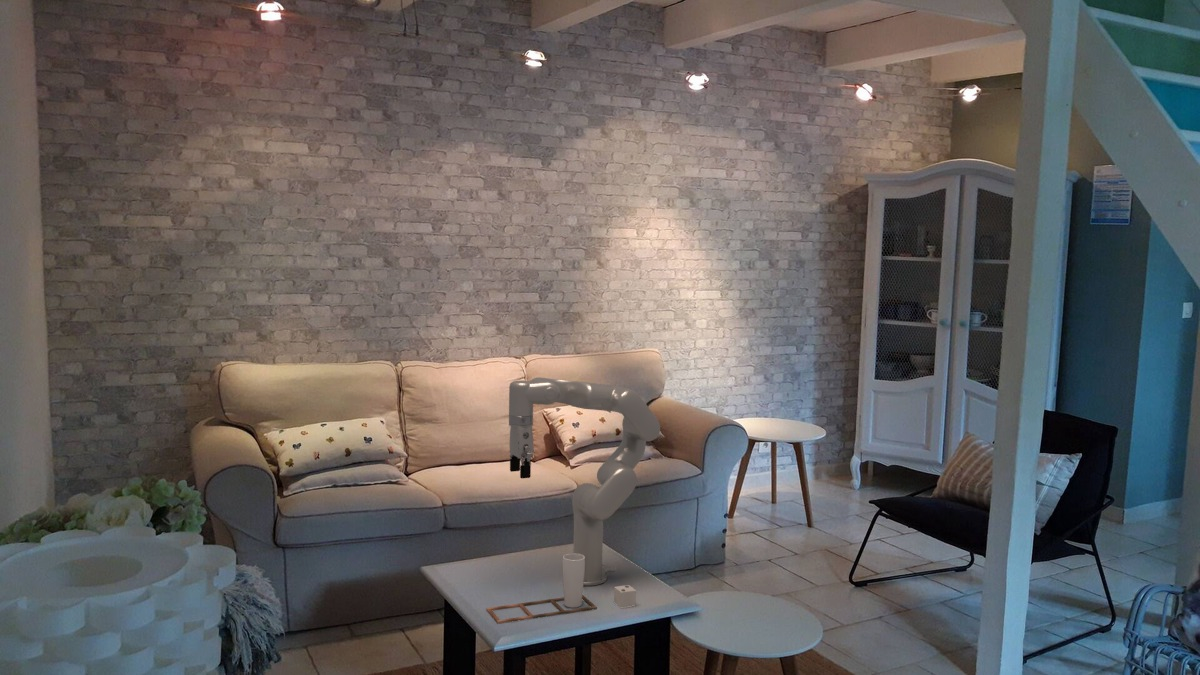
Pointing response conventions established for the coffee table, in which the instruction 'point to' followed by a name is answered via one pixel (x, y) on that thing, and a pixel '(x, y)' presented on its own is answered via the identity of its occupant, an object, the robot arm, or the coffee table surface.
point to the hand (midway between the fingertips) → (520, 474)
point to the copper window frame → (530, 616)
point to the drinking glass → (573, 579)
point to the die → (624, 596)
